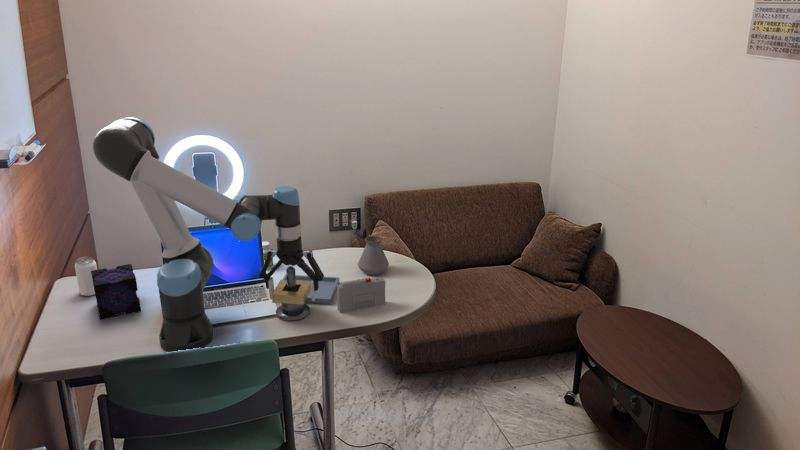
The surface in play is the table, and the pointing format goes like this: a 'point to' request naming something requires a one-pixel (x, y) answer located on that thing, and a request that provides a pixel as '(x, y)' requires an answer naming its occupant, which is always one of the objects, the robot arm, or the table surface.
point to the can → (85, 275)
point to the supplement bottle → (266, 248)
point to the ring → (291, 292)
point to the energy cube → (115, 291)
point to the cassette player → (360, 294)
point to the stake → (292, 310)
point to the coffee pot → (373, 255)
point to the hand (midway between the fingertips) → (293, 298)
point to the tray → (321, 289)
